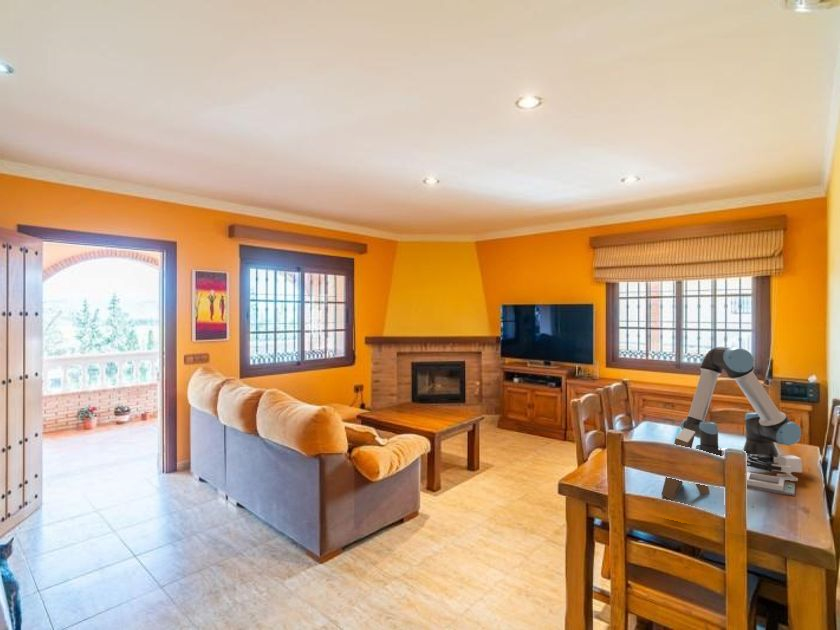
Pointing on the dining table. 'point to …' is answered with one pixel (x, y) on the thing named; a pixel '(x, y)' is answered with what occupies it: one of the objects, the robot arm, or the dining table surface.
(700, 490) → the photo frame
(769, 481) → the camera dock
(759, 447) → the robot arm
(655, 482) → the dining table surface
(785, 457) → the security camera
